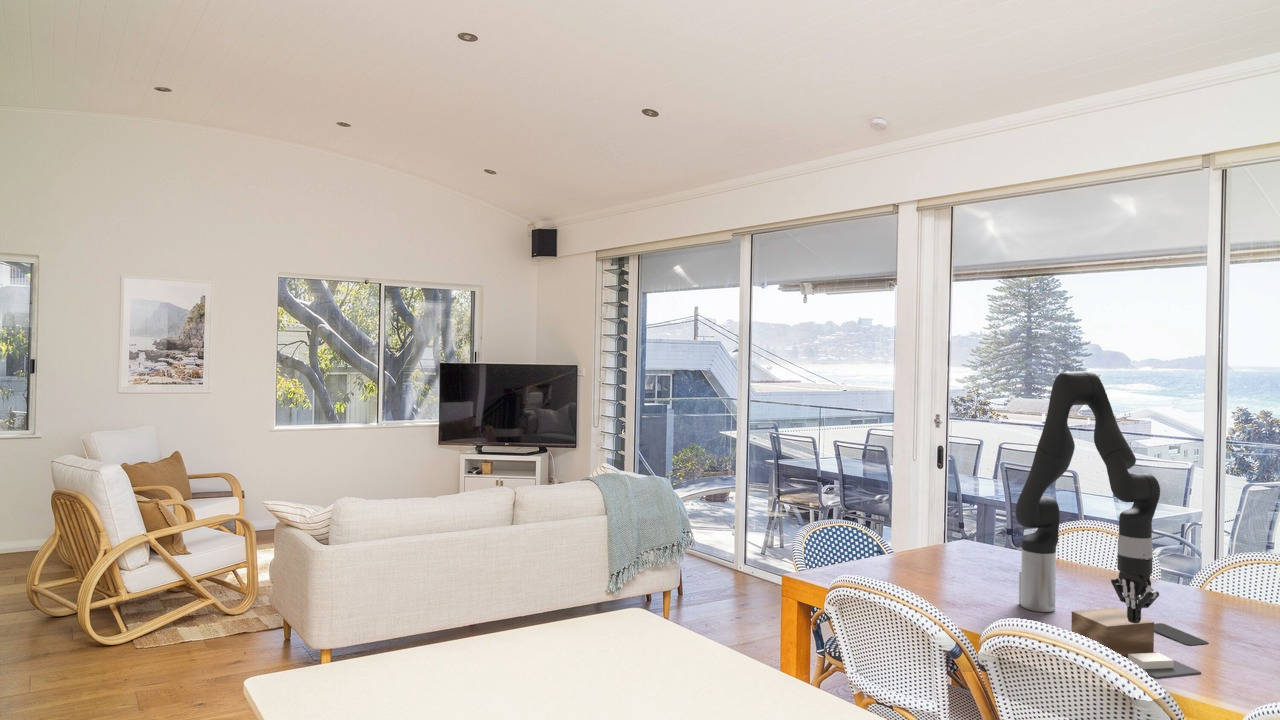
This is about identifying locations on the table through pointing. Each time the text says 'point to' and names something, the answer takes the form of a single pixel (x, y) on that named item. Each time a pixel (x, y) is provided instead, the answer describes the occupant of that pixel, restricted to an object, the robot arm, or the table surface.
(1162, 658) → the card box
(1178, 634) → the smartphone
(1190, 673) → the rubber mat
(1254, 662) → the table surface
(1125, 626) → the brown wooden block
